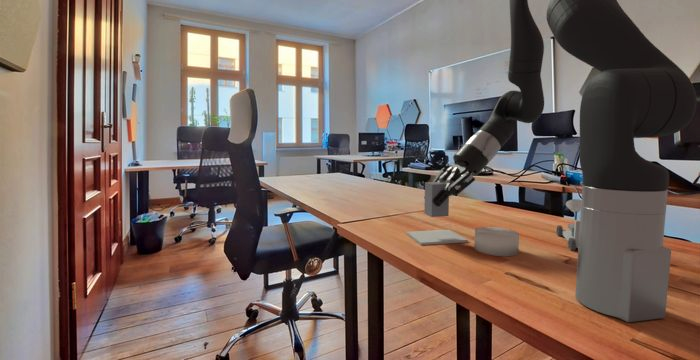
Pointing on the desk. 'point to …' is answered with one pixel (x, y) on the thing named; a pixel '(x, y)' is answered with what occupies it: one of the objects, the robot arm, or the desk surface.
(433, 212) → the cap block
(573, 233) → the toy car
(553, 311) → the desk surface
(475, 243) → the white round part
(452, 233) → the rubber mat
